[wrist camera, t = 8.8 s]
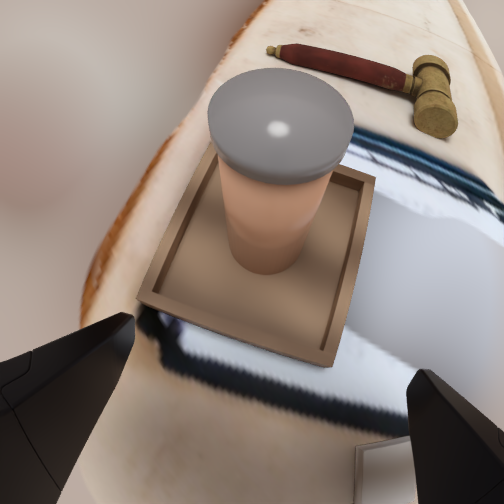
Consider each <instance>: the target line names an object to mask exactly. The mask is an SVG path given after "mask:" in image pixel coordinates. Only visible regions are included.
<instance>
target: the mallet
mask: <svg viewBox="0 0 504 504" xmlns="http://www.w3.org/2000/svg"><path fill="white" fill-rule="evenodd" d="M415 489H416V476H415V469H414V461H413V454H412V447H411V441H410V436H405V437H400V438H396V439H391V440H386V441H382V442H376V443H371V444H365V445H360V446H356V462H355V489H354V504H408V503H411V502H414V499H415Z"/></svg>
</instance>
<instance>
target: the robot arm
mask: <svg viewBox="0 0 504 504" xmlns="http://www.w3.org/2000/svg"><path fill="white" fill-rule="evenodd" d="M134 340H135V319H134V316H133V315H131V314H128V313H124V312H120V313H117V314H115V315H113V316H110V317H108V318H106V319H103V320H101V321H99V322H96V323H94V324H92V325H90V326H87V327H85V328H83V329H80V330H78V331H76V332H73V333H71V334H69V335H66V336H64V337H62V338H59V339H57V340H55V341H52V342H50V343H48V344H45V345H43V346H41V347H38V348H36V349H33V351H29V352H26V353H24V354H22V355H19V356H17V357H14V358H12V359H9V360H7V361H3V362H0V504H56V503H57V501H58V499H59V497H60V495H61V491H62V490H63V488H64V485H65V484H66V482H67V479H68V477H69V476H70V474H71V472H72V469H73V467H74V465H75V463H76V461H77V459H78V457H79V455H80V454H81V452H82V450H83V448H84V446H85V444H86V442H87V440H88V438H89V436H90V434H91V432H92V430H93V428H94V426H95V424H96V423H97V421H98V419H99V417H100V415H101V413H102V411H103V409H104V408H105V406H106V404H107V402H108V400H109V398H110V396H111V395H112V393H113V391H114V389H115V387H116V385H117V383H118V381H119V379H120V376H121V374H122V371H123V369H124V366H125V364H126V361H127V359H128V356H129V354H130V351H131V349H132V347H133V344H134ZM406 396H407V409H408V423H409V434H410V441H411V447H412V454H413V461H414V469H415V476H416V485H417V494H418V504H504V432H503V431H502V430H501V429H500V428H497V426H496V425H495V424H494V423H493V422H492V421H491V420H489V419H488V418H487V417H486V416H484V414H482V413H481V412H480V411H479V410H478V409H477V408H475V407H474V406H473V405H472V404H471V403H469V402H468V401H467V400H466V399H465V398H464V397H462V396H461V395H460V394H459V393H458V392H457V391H455V390H454V389H453V388H452V387H451V386H449V385H448V384H447V383H446V382H445V381H443V380H442V379H441V378H440V377H439V376H437V375H436V374H435V373H434V372H432V371H431V370H429V369H419V370H418V371H417V372H416V374H415V375H414V377H413V379H412V380H411V382H410V384H409V385H408V387H407V391H406Z"/></svg>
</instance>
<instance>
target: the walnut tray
mask: <svg viewBox="0 0 504 504" xmlns="http://www.w3.org/2000/svg"><path fill="white" fill-rule="evenodd" d="M375 179H376V177H374V176H371V175H368V174H366V173H363V172H360V171H357V170H355V169H352V168H349V167H346V166H343V165H340V164H338V165H337V167H336V168H334V169H333V172H332V174H331V177H330V180H329V182H328V185H327V187H326V190H325V192H324V195H323V198H322V200H321V203H320V205H319V208H318V210H317V213H316V215H315V218H314V220H313V223H312V225H311V228H310V230H309V233H308V235H307V237H306V240H305V242H304V245H303V247H302V250H301V252H300V254H299V256H298V258H297V260H296V261H295V262H294V264H292V265H291V266H290V267H289V268H288V269H286V270H284V271H282V272H280V273H277V274H272V275H261V274H256V273H253V272H250V271H248V270H246V269H245V268H243V267H242V266H241V265H240V264H239V263H238V262H237V261H236V260H235V258H234V257H233V255H232V253H231V250H230V246H229V240H228V232H227V225H226V217H225V209H224V201H223V193H222V186H221V177H220V169H219V161H218V154H217V152H216V151H215V149H214V147H213V145H212V142H210V144H209V146H208V148H207V150H206V152H205V154H204V155H203V157H202V159H201V161H200V163H199V165H198V167H197V169H196V171H195V173H194V174H193V176H192V178H191V180H190V182H189V184H188V186H187V188H186V190H185V192H184V194H183V196H182V198H181V200H180V202H179V204H178V206H177V208H176V210H175V212H174V215H173V217H172V219H171V221H170V223H169V225H168V227H167V229H166V231H165V233H164V236H163V238H162V240H161V242H160V244H159V246H158V249H157V251H156V253H155V255H154V258H153V260H152V262H151V264H150V267H149V269H148V271H147V273H146V276H145V278H144V280H143V283H142V285H141V287H140V290H139V292H138V294H137V297H136V299H137V300H138V301H140V302H141V303H143V304H144V305H146V306H148V307H151V308H153V309H156V310H158V311H161V312H163V313H166V314H168V315H171V316H173V317H176V318H178V319H181V320H183V321H186V322H189V323H191V324H194V325H196V326H199V327H202V328H204V329H207V330H210V331H213V332H215V333H218V334H221V335H224V336H227V337H229V338H232V339H235V340H238V341H241V342H244V343H247V344H250V345H253V346H256V347H259V348H262V349H265V350H268V351H271V352H274V353H277V354H280V355H283V356H287V357H290V358H293V359H296V360H300V361H303V362H306V363H310V364H313V365H317V366H320V367H324V368H329V367H332V366H333V363H334V360H335V356H336V353H337V349H338V346H339V343H340V339H341V335H342V332H343V328H344V325H345V321H346V317H347V313H348V309H349V305H350V301H351V297H352V294H353V289H354V285H355V281H356V276H357V273H358V268H359V264H360V259H361V255H362V250H363V245H364V240H365V235H366V230H367V225H368V220H369V214H370V209H371V203H372V197H373V192H374V186H375Z"/></svg>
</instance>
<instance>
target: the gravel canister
mask: <svg viewBox="0 0 504 504" xmlns="http://www.w3.org/2000/svg"><path fill="white" fill-rule="evenodd" d="M208 123H209V131H210V137H211V142H212V145H213V147H214V149H215V151H216V152H217V154H218V161H219V169H220V177H221V186H222V193H223V201H224V209H225V217H226V225H227V232H228V240H229V246H230V250H231V253H232V255H233V257H234V258H235V260H236V261H237V262H238V263H239V264H240V265H241V266H242V267H243V268H245V269H246V270H248V271H250V272H253V273H256V274H261V275H272V274H277V273H280V272H282V271H284V270H286V269H288V268H289V267H290V266H291V265H292V264H294V262H295V261H296V260H297V258H298V256H299V254H300V252H301V250H302V247H303V245H304V242H305V240H306V237H307V235H308V233H309V230H310V228H311V225H312V223H313V220H314V218H315V215H316V213H317V210H318V208H319V205H320V203H321V200H322V198H323V195H324V192H325V190H326V187H327V185H328V182H329V180H330V177H331V174H332V172H333V169H334V168H336V167H337V165H338V164H339V163H340V162H341V160H342V159H343V157H344V155H345V153H346V150H347V148H348V145H349V142H350V140H351V137H352V134H353V130H354V119H353V115H352V111H351V109H350V107H349V105H348V103H347V102H346V100H345V99H344V98H343V97H342V95H341V94H340V93H339V92H338V91H337V90H336V89H334V88H333V87H332V86H330V85H329V84H328V83H326V82H324V81H323V80H321V79H319V78H317V77H315V76H312V75H310V74H307V73H304V72H300V71H296V70H291V69H284V68H265V69H257V70H252V71H248V72H245V73H242V74H240V75H237V76H235V77H233V78H231V79H230V80H228V81H227V82H225V83H224V84H223V85H222V86H220V87H219V88H218V90H217V91H216V92H215V93H214V95H213V96H212V98H211V100H210V103H209V106H208Z"/></svg>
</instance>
